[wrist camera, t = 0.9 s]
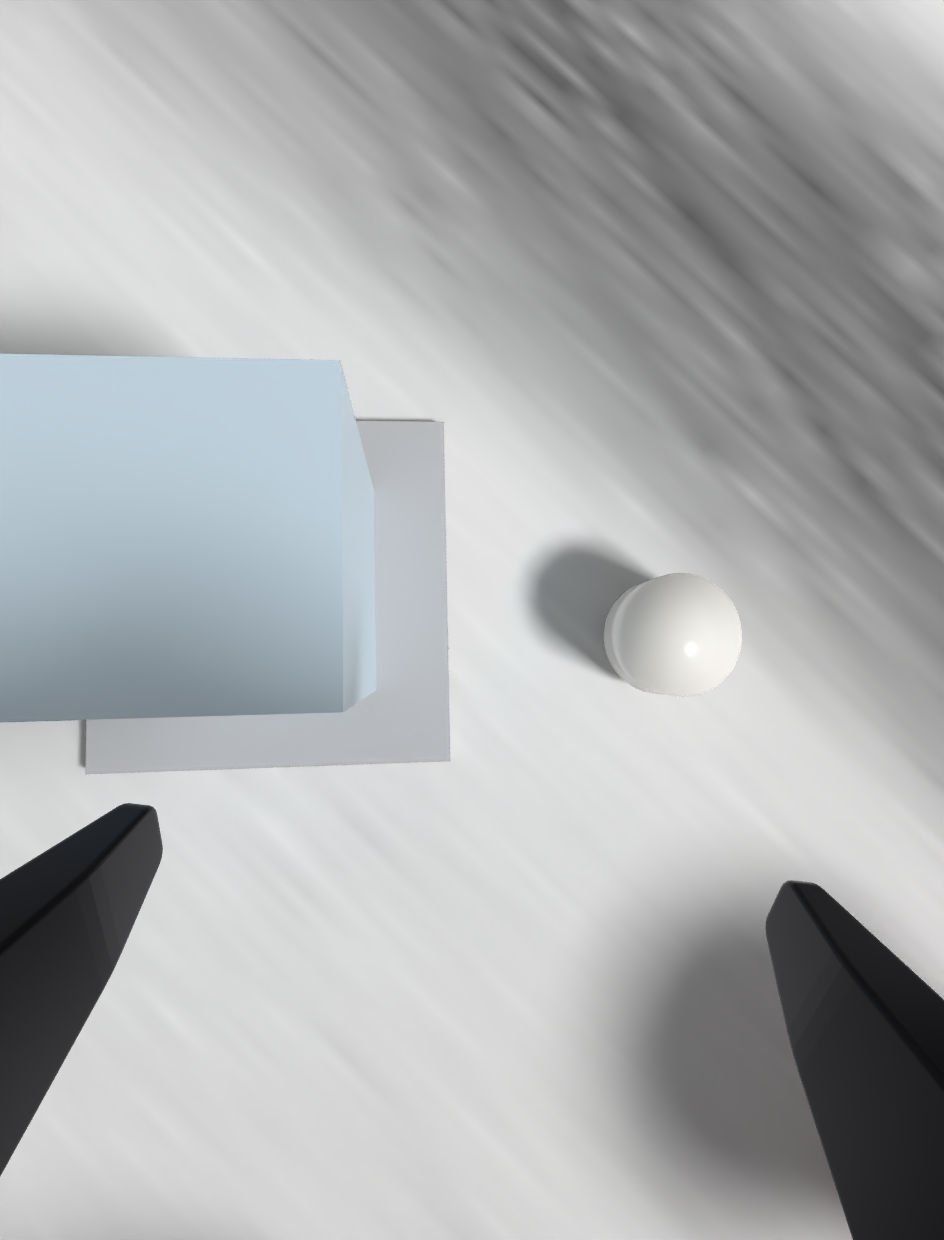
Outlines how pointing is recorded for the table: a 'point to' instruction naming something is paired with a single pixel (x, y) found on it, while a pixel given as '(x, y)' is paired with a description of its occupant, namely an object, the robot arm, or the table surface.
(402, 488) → the mat
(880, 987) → the robot arm
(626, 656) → the white domed knob
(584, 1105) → the table surface
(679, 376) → the table surface
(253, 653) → the light blue block
